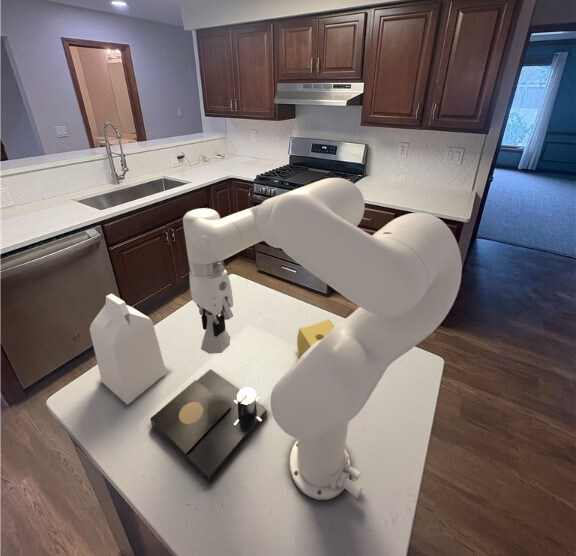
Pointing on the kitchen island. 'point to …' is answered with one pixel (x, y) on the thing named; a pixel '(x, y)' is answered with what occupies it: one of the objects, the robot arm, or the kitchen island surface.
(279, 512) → the kitchen island surface
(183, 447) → the burner
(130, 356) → the milk
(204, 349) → the flask
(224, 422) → the hob
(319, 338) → the cheese
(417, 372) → the kitchen island surface
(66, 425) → the kitchen island surface
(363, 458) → the kitchen island surface
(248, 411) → the hob knob
